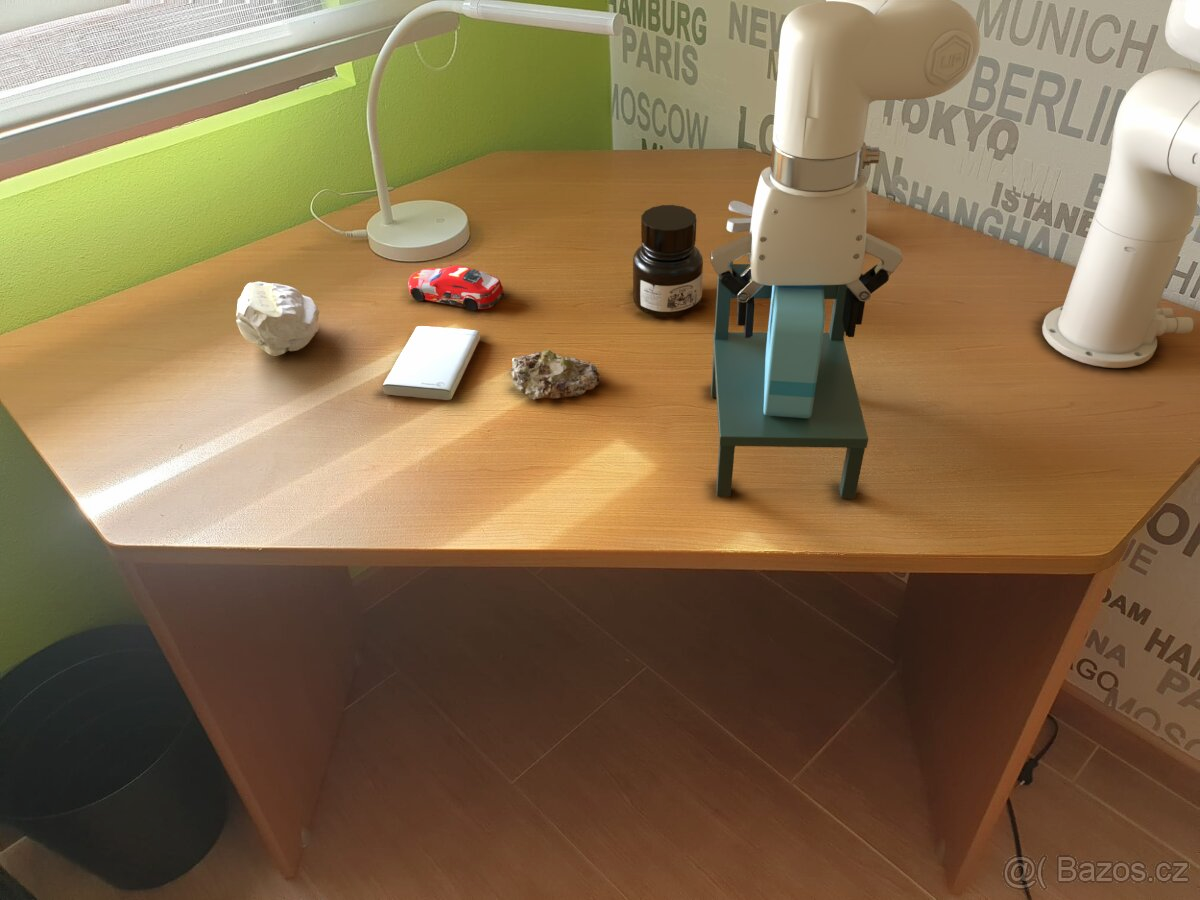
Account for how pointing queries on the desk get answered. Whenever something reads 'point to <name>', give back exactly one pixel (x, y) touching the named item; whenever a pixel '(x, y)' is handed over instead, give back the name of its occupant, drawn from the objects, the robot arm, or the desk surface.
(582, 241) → the desk surface
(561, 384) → the mineral rock
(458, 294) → the race car
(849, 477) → the chair
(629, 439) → the desk surface
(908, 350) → the desk surface
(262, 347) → the white rounded lump
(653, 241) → the ink bottle
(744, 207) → the bunny figurine
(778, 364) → the light blue rounded block
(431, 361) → the hard drive
